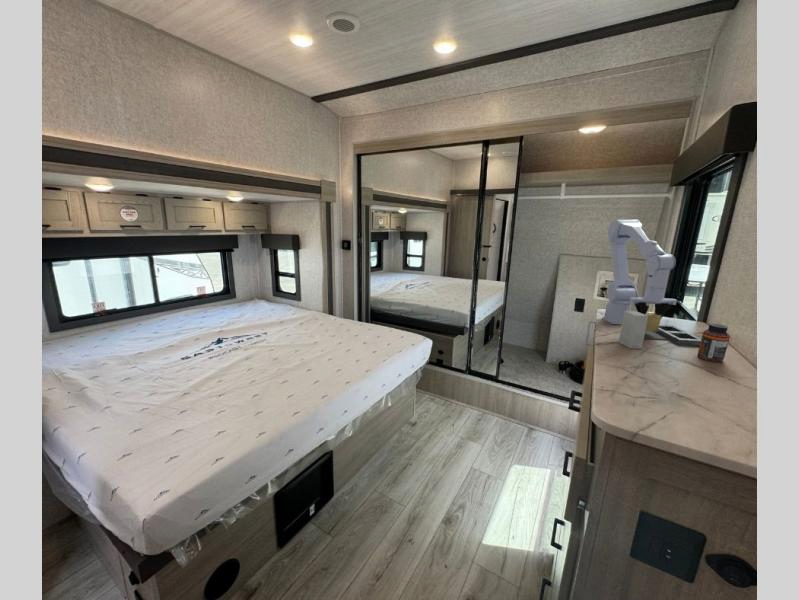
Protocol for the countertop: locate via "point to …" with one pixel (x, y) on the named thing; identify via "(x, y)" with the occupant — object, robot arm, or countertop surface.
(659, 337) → the mat
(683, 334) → the grey rectangular frame
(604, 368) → the countertop surface
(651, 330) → the gold drawer box
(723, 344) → the supplement bottle
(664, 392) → the countertop surface
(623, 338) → the skincare box
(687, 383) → the countertop surface
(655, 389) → the countertop surface
